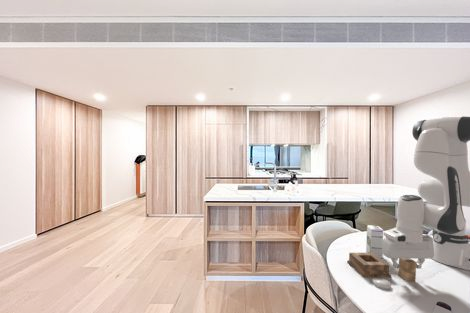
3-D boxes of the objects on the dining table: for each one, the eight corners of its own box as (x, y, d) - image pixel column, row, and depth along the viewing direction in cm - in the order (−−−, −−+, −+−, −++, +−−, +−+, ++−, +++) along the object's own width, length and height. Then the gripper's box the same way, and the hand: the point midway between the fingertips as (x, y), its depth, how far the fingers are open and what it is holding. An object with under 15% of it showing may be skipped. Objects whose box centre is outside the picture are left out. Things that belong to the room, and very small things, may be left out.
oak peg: (407, 275, 94) (408, 257, 94) (415, 281, 90) (416, 262, 90) (398, 275, 94) (399, 257, 94) (406, 281, 90) (406, 262, 90)
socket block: (371, 262, 105) (372, 252, 105) (391, 277, 93) (391, 265, 93) (347, 262, 104) (347, 252, 104) (363, 277, 92) (363, 265, 92)
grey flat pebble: (382, 280, 91) (382, 277, 91) (394, 290, 85) (394, 286, 85) (368, 280, 90) (368, 277, 90) (379, 290, 84) (379, 286, 84)
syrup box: (383, 258, 109) (384, 229, 108) (369, 257, 110) (371, 228, 110) (378, 253, 114) (379, 225, 114) (365, 252, 116) (366, 224, 115)
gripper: (425, 232, 95) (423, 264, 95) (380, 231, 94) (378, 263, 94) (440, 238, 89) (438, 272, 89) (391, 237, 88) (389, 271, 88)
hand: (407, 267), depth 92 cm, fingers open, 8 cm apart
